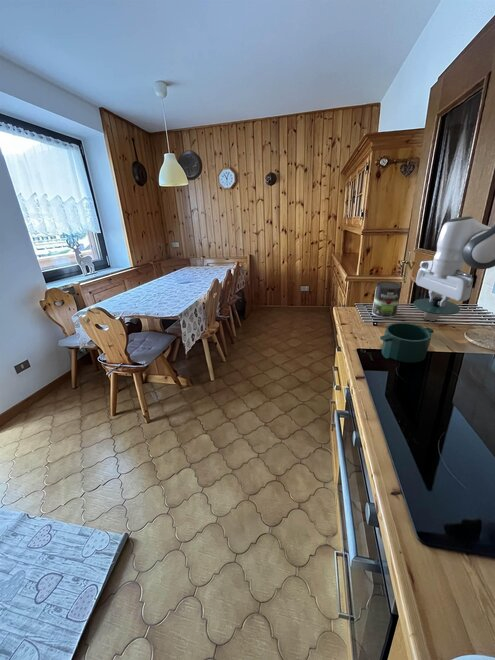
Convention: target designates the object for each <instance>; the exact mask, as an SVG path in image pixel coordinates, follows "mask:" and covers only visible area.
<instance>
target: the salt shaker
mask: <svg viewBox="0 0 495 660" xmlns="http://www.w3.org/2000/svg"><path fill="white" fill-rule="evenodd" d="M435 296H436V297H441V298H442V296H443V295H441V294H439V293H435ZM440 316H441V315H438V314H432V313H427V312H424V311H423V317H424V320H425V319H427V320H430V321H429V322H432V321H434V322H436V321H437V320H438V319H439V317H440ZM427 320H426V321H427ZM435 320H436V321H435Z"/></svg>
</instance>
